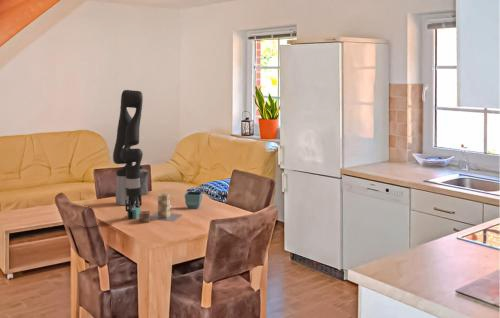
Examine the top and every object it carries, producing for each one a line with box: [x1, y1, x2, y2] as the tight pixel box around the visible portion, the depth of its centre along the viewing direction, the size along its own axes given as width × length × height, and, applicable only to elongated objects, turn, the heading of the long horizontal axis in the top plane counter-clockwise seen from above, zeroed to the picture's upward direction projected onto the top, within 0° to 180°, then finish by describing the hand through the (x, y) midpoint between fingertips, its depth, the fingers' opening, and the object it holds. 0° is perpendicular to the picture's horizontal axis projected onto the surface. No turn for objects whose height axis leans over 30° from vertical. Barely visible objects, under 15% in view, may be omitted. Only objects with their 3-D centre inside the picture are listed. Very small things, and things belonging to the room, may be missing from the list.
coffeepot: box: [140, 165, 150, 196], centre depth 352 cm, size 15×9×18 cm, turn 55°
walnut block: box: [138, 210, 151, 224], centre depth 282 cm, size 5×5×6 cm
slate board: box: [150, 212, 183, 222], centre depth 291 cm, size 16×14×1 cm
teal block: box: [126, 207, 141, 220], centre depth 290 cm, size 5×5×6 cm
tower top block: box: [157, 193, 171, 208], centre depth 290 cm, size 5×5×6 cm
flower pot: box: [184, 191, 203, 210], centre depth 314 cm, size 9×9×9 cm
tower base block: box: [157, 204, 171, 218], centre depth 291 cm, size 5×5×6 cm
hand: (134, 216), depth 290 cm, fingers open, 7 cm apart
